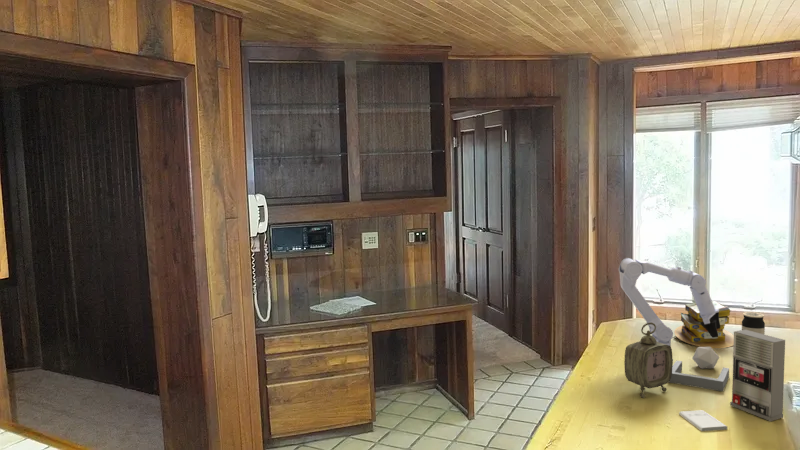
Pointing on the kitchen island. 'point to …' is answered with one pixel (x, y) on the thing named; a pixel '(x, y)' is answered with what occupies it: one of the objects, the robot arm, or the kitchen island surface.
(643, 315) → the robot arm
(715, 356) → the die
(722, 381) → the grey bracket
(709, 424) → the external hard drive
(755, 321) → the travel mug
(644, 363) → the tabletop clock
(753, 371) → the cassette tape recorder
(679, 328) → the stack of yellow books
